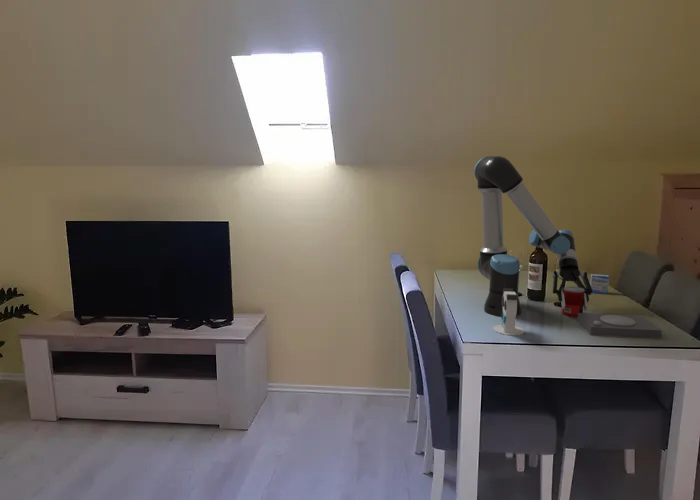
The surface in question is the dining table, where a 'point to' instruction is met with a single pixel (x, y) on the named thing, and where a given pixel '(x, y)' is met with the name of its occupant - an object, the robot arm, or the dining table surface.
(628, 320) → the mount
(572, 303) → the canned food
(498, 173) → the robot arm
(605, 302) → the dining table surface
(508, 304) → the white upright stand
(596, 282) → the medicine box
